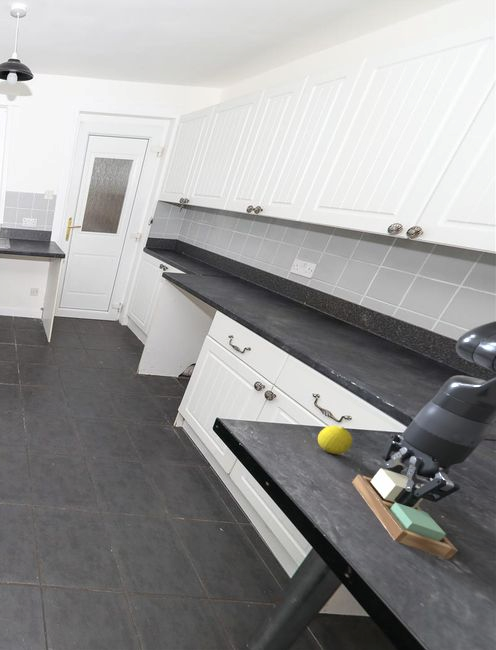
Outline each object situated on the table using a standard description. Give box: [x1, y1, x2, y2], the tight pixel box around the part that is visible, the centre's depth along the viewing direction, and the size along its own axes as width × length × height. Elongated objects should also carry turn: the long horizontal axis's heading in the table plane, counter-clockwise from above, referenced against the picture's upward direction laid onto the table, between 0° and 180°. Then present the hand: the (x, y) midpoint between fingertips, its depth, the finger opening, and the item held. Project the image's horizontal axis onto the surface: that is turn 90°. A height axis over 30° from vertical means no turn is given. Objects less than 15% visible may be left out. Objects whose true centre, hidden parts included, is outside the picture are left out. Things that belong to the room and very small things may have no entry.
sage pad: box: [389, 503, 447, 541], centre depth 63 cm, size 5×5×4 cm
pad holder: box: [351, 473, 459, 561], centre depth 66 cm, size 7×14×3 cm, turn 157°
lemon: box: [317, 425, 354, 455], centre depth 81 cm, size 6×6×8 cm
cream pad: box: [371, 468, 424, 509], centre depth 67 cm, size 5×5×4 cm
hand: (392, 493), depth 68 cm, fingers closed on cream pad, 4 cm apart
